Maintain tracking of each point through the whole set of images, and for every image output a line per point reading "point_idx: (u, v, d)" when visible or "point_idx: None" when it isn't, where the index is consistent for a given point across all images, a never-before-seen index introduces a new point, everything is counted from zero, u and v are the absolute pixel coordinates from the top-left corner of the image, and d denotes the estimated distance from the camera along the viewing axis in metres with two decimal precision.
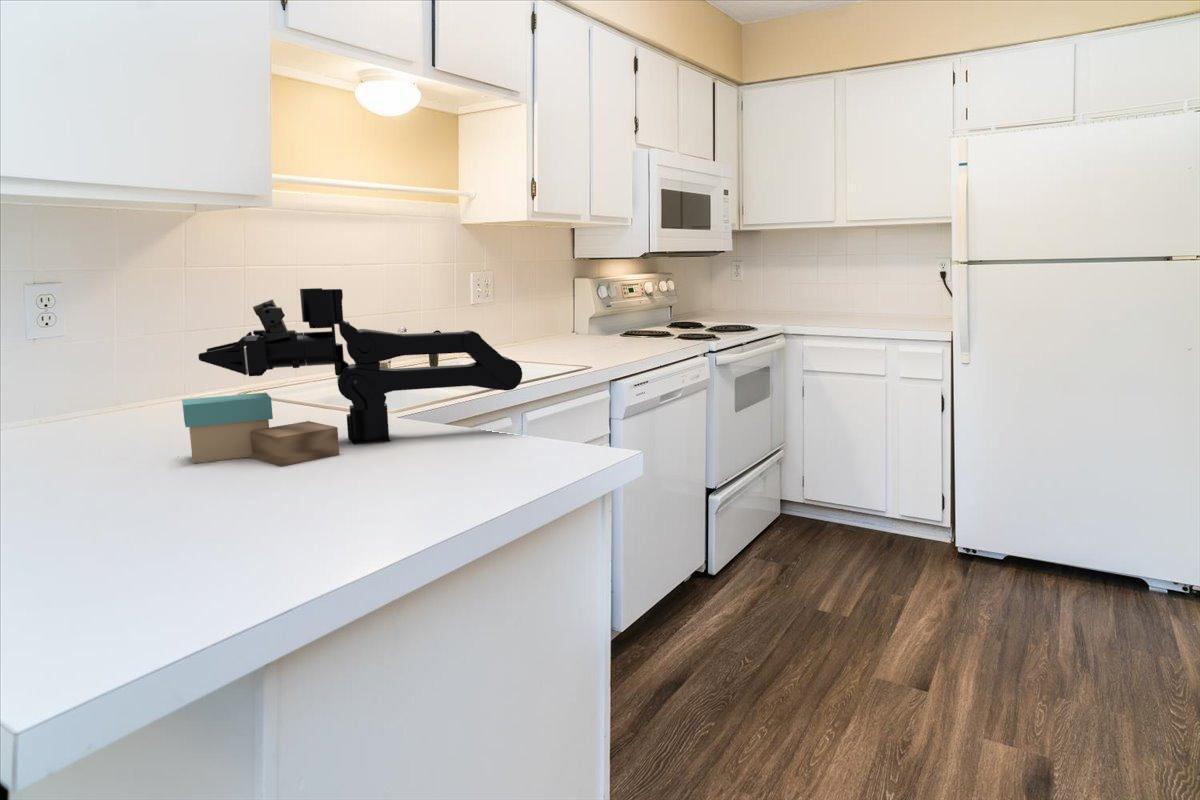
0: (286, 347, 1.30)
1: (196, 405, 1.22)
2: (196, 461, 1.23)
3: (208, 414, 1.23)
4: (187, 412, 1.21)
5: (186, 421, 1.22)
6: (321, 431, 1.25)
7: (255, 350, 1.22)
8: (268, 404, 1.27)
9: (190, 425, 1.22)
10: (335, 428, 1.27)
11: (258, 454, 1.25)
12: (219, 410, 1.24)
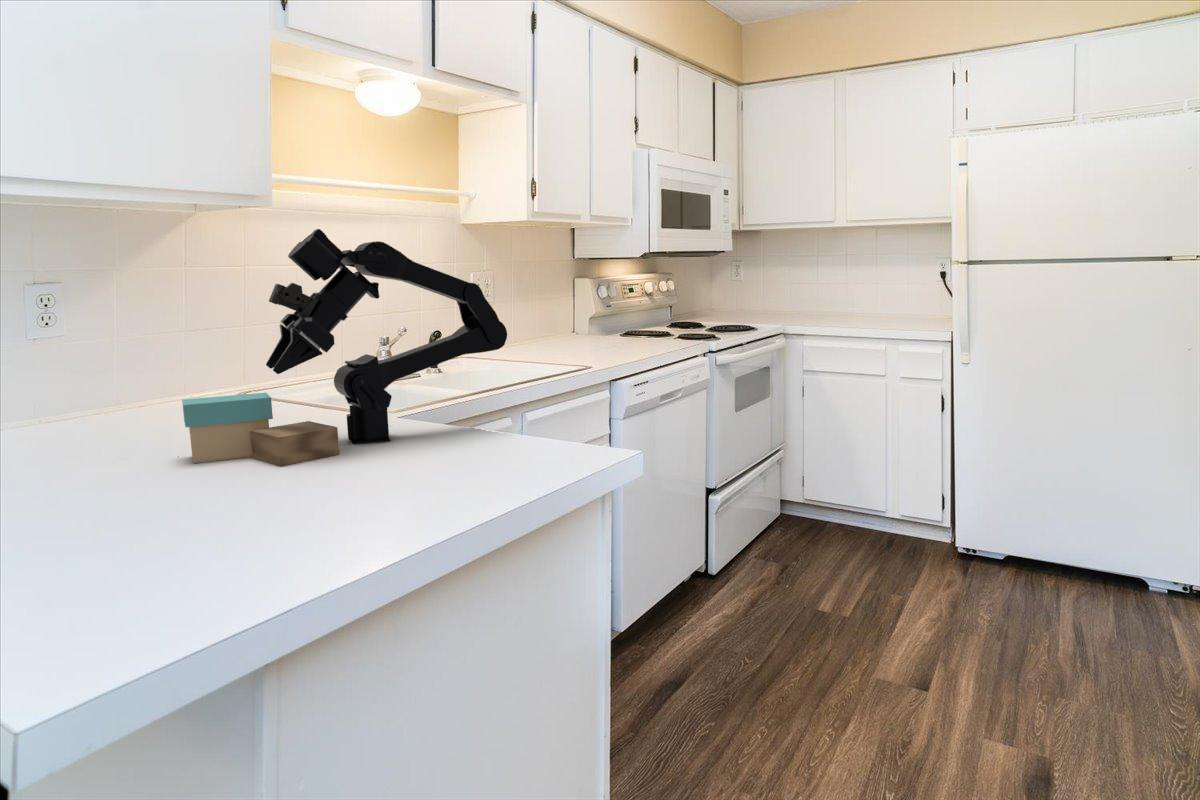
0: (324, 309, 1.30)
1: (196, 405, 1.22)
2: (196, 461, 1.23)
3: (208, 414, 1.23)
4: (187, 412, 1.21)
5: (186, 421, 1.22)
6: (321, 431, 1.25)
7: (312, 329, 1.23)
8: (268, 404, 1.27)
9: (190, 425, 1.22)
10: (335, 428, 1.27)
11: (258, 454, 1.25)
12: (219, 410, 1.24)
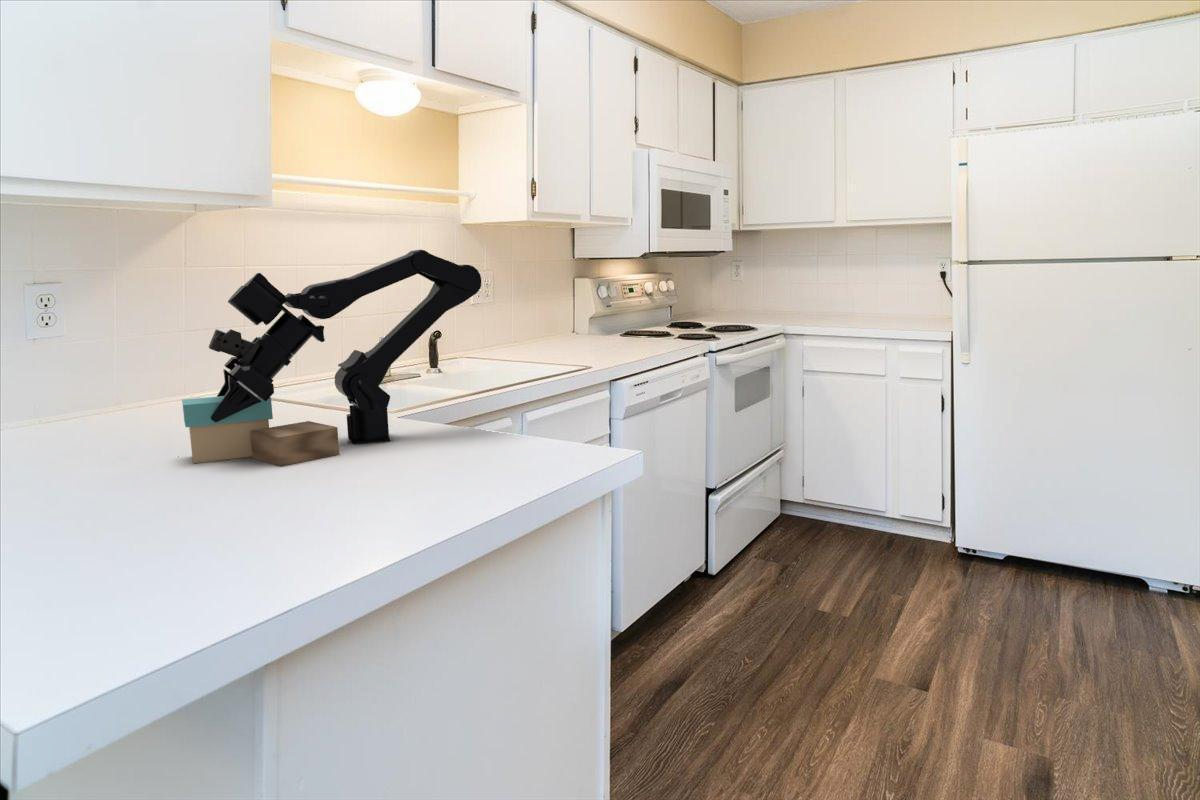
0: (266, 355, 1.26)
1: (196, 405, 1.22)
2: (196, 461, 1.23)
3: (208, 414, 1.23)
4: (187, 412, 1.21)
5: (186, 421, 1.22)
6: (321, 431, 1.25)
7: (250, 378, 1.20)
8: (268, 404, 1.27)
9: (190, 425, 1.22)
10: (335, 428, 1.27)
11: (258, 454, 1.25)
12: None
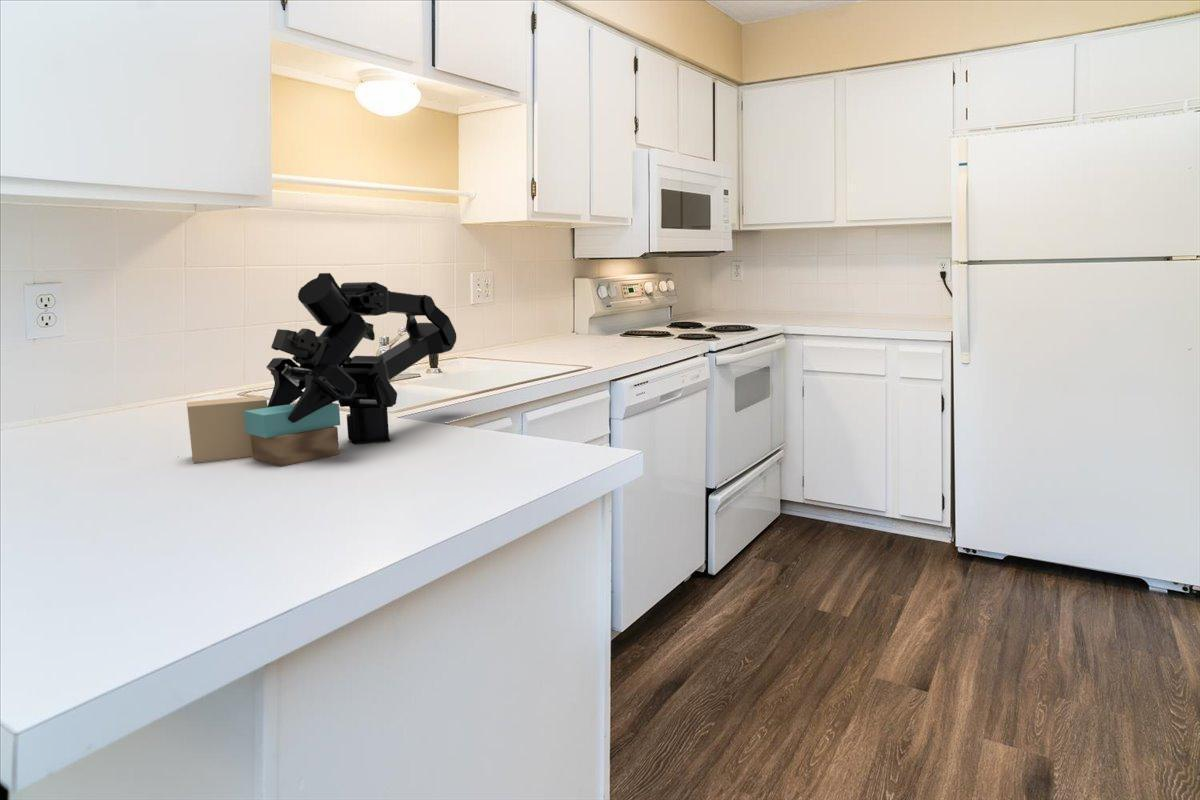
0: (332, 354, 1.27)
1: (275, 415, 1.20)
2: (196, 461, 1.23)
3: (285, 424, 1.22)
4: (267, 422, 1.19)
5: (266, 431, 1.19)
6: (321, 431, 1.25)
7: (338, 376, 1.21)
8: (336, 411, 1.28)
9: (269, 435, 1.20)
10: (335, 428, 1.27)
11: (258, 454, 1.25)
12: None
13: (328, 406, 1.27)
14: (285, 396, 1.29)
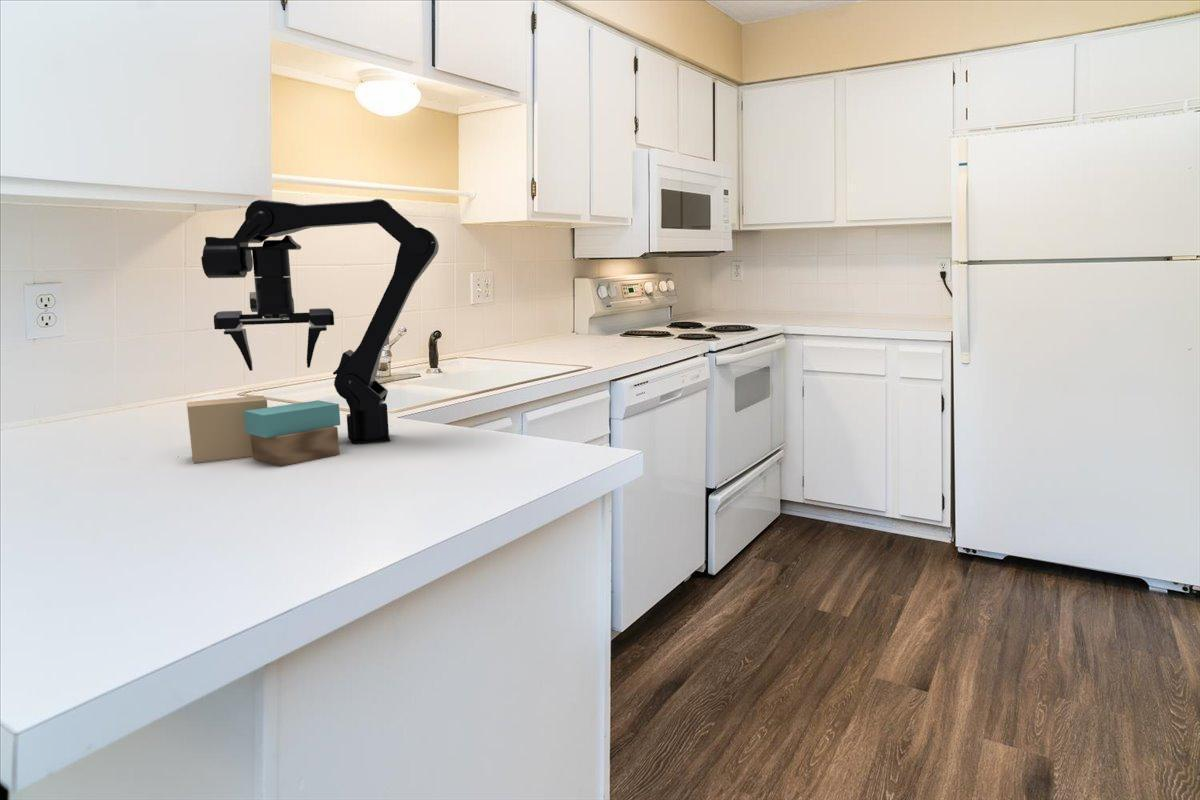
0: None
1: (275, 415, 1.20)
2: (196, 461, 1.23)
3: (285, 424, 1.22)
4: (267, 422, 1.19)
5: (266, 431, 1.19)
6: (321, 431, 1.25)
7: None
8: (336, 411, 1.28)
9: (269, 435, 1.20)
10: (335, 428, 1.27)
11: (258, 454, 1.25)
12: (295, 419, 1.23)
13: (328, 406, 1.27)
14: None
